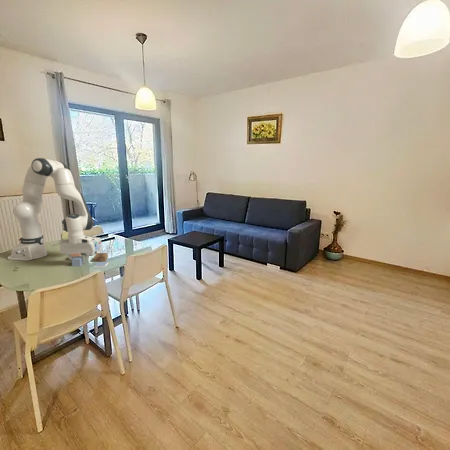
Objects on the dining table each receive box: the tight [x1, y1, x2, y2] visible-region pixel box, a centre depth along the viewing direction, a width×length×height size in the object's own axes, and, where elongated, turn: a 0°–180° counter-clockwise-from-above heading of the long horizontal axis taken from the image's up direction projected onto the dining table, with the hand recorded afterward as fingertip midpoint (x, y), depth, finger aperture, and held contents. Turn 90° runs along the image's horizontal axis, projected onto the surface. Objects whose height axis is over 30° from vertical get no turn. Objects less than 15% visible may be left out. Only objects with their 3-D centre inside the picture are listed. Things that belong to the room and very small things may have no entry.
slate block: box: [70, 255, 85, 267], centre depth 166 cm, size 5×5×5 cm
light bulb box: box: [84, 236, 103, 257], centre depth 187 cm, size 11×7×11 cm, turn 168°
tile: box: [93, 261, 109, 268], centre depth 167 cm, size 7×7×1 cm
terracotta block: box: [70, 253, 82, 257], centre depth 175 cm, size 5×5×5 cm
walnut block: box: [93, 252, 109, 263], centre depth 175 cm, size 7×7×4 cm
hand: (79, 259), depth 166 cm, fingers open, 8 cm apart
